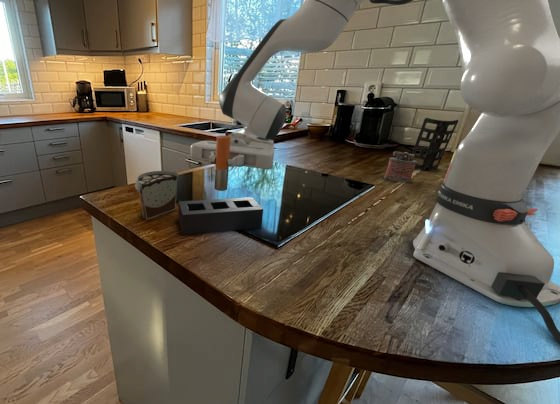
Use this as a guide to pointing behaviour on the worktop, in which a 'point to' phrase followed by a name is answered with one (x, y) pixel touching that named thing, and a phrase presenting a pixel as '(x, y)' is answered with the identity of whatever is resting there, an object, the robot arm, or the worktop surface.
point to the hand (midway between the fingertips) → (221, 161)
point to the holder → (433, 143)
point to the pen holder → (219, 215)
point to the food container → (157, 192)
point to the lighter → (400, 167)
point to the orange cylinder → (222, 162)
